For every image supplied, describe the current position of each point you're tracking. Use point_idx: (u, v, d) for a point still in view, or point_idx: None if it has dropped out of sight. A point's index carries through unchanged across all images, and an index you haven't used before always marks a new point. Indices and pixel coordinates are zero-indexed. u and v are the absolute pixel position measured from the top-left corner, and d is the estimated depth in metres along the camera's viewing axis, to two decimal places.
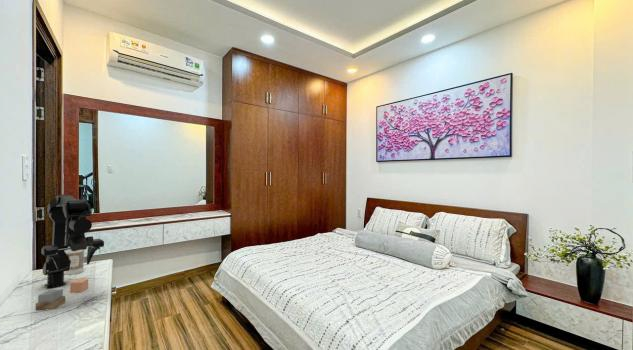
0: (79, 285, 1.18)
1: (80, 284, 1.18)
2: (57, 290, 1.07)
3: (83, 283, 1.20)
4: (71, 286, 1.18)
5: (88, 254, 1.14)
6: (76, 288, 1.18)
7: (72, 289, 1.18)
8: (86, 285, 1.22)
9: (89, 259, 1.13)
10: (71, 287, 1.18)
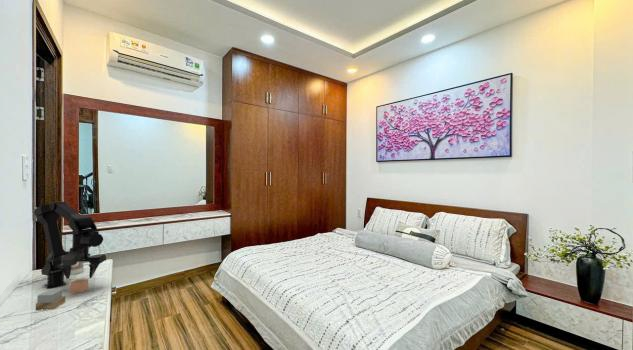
0: (79, 285, 1.18)
1: (80, 284, 1.18)
2: (56, 290, 1.07)
3: (83, 283, 1.20)
4: (71, 286, 1.18)
5: None
6: (76, 288, 1.18)
7: (72, 289, 1.18)
8: (86, 285, 1.22)
9: (90, 273, 1.20)
10: (71, 287, 1.18)
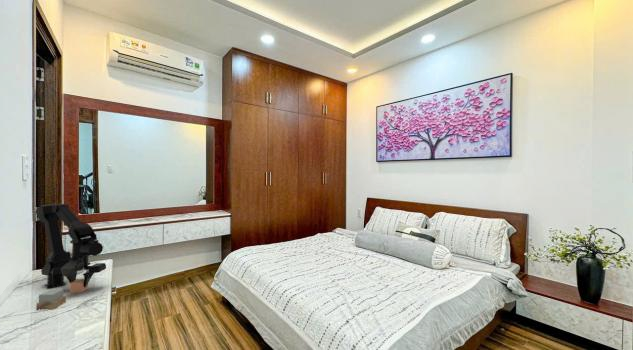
0: (78, 284, 1.18)
1: (80, 284, 1.18)
2: (58, 290, 1.07)
3: (83, 283, 1.20)
4: (71, 286, 1.18)
5: None
6: (76, 288, 1.18)
7: (72, 288, 1.18)
8: None
9: (84, 282, 1.20)
10: (71, 286, 1.18)
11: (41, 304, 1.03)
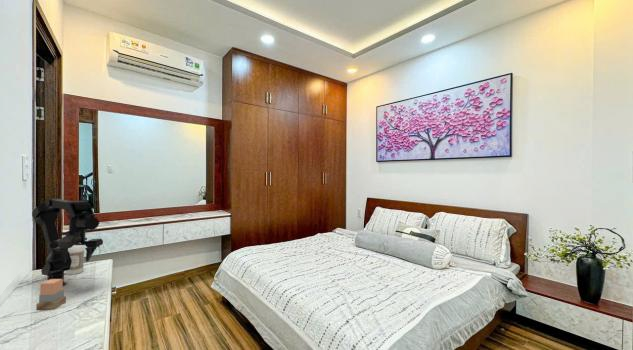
0: (50, 286, 1.03)
1: (51, 285, 1.04)
2: None
3: (56, 284, 1.05)
4: (41, 287, 1.03)
5: None
6: (47, 289, 1.03)
7: (42, 290, 1.03)
8: (60, 286, 1.07)
9: (86, 257, 1.21)
10: (41, 288, 1.03)
11: (41, 304, 1.02)
